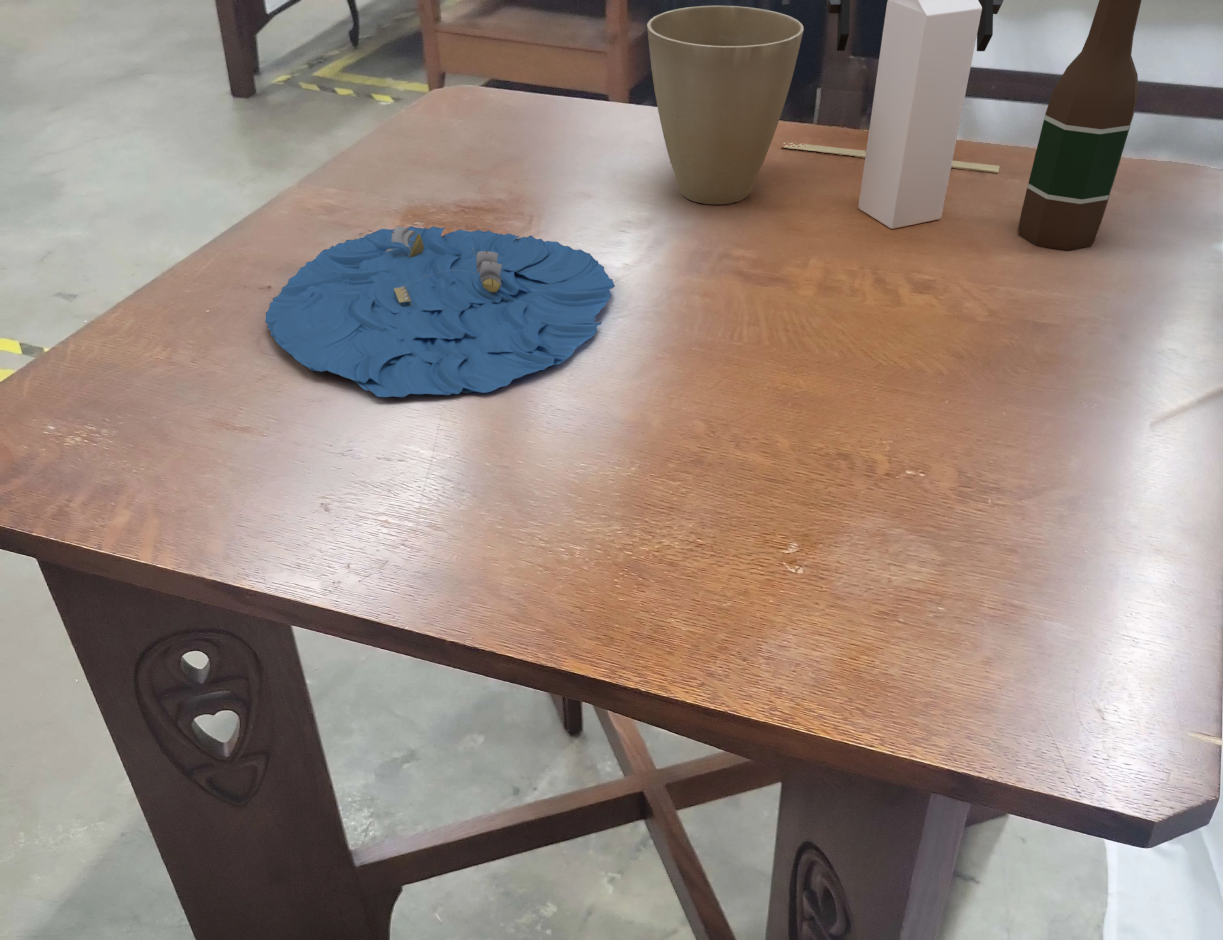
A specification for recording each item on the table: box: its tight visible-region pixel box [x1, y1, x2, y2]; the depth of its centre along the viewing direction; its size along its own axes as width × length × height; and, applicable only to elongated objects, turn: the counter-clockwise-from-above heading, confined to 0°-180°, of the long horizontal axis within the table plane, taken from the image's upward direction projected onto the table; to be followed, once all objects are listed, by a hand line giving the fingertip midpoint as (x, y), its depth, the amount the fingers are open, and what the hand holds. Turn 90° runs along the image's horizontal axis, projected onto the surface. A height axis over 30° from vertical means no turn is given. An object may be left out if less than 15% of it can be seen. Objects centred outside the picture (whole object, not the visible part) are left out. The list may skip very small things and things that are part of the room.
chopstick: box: [783, 142, 1001, 174], centre depth 119 cm, size 24×2×1 cm, turn 69°
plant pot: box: [646, 5, 805, 206], centre depth 107 cm, size 15×15×16 cm
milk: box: [857, 0, 982, 230], centre depth 100 cm, size 6×6×22 cm
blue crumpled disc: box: [264, 225, 616, 398], centre depth 91 cm, size 30×30×5 cm
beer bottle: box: [1017, 0, 1142, 251], centre depth 95 cm, size 8×8×24 cm
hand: (913, 43), depth 104 cm, fingers open, 13 cm apart
